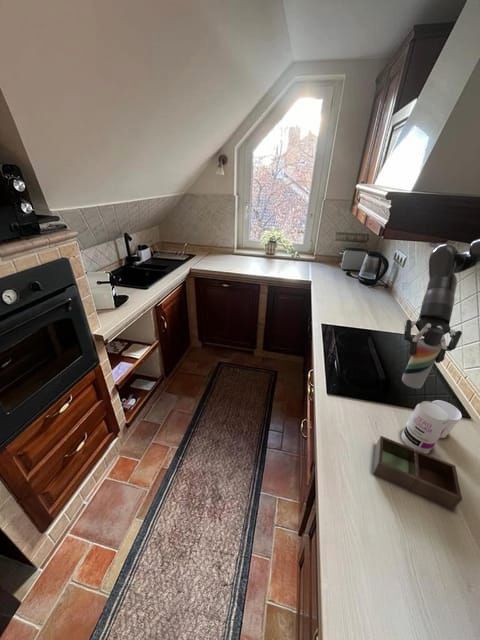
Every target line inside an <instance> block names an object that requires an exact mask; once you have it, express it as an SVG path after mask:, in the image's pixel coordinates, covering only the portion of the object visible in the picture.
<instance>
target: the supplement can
mask: <svg viewBox="0 0 480 640" xmlns="http://www.w3.org/2000/svg"><path fill="white" fill-rule="evenodd" d="M448 423H449V414H448V412H447V411H446V410H445V409H444V408H443V407H441V406H440V405H438V404H436V403H434V402H433V401H430V400H424V401H421V402H420V403H417V404H416V406H415V407H414V409H413V412H412V413H411V415H410V417H409V419H408V421H407V423H406V424H405V427H404V428H403V430H402V432H401V440H402V442H403V443H404V445H405V446H408V447H410V448H413V449H415V450H417V451H420V452H423V453H425V454H429V453H431V451H432V450H433V448H434V447H435V445H436V443H437V442H438V440H439V439H440V438H439V437H440V436H441V434H442V433H443V431H444V430H445V428H446V427H447V425H448Z"/></svg>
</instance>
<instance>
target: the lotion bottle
mask: <svg viewBox="0 0 480 640" xmlns="http://www.w3.org/2000/svg"><path fill="white" fill-rule="evenodd" d="M443 334H444V331H443V330H442V329H441V328H438V327H435V326H431V327H429V328H428V329H427V332H426V334H425V336H424V337H421V338H420V339H419V340H418V341H417V342H416V343H417V347H416V351H415V354H414V356H410V358H409V361H408V363H407V365H406V368H405V370H404V372H403V374H402V376H401V381H402V383H403V384H404V385H405V386H407V387H409V388H412V389H421V388H423V385H424V384H425V382H426V380H427V378H428V376H429V375H430V372H431V370H432V368H433V366H434V364H435V363H436V362H435V360H436V358H437V356H438V354H439V352H440V350H441V345H440V344H439V342H440V340H441V338H442V336H443Z"/></svg>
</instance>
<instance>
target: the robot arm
mask: <svg viewBox="0 0 480 640" xmlns="http://www.w3.org/2000/svg"><path fill="white" fill-rule="evenodd" d="M479 265H480V238H477V239H474V240H473V241H472V242H471V243H470V244H469V249H468V250H466V251H463V252H461V250H460V249H459V248H458V247H457V246H456V245H454V244H453V243H442V244H440V245H439V244H438V246H436V247H435V248H434V249H433V250H432V251H431V253H430V255H429V258H428V282H427V287H426V289H425V290H426V291H425V294H424V296H423V299H422V301H421V306H420V310H419V311H420V312H419V315H418V319H417V320H415V321H414V320H411V319H406V320H405V322H404V330H403V331H404V332H403V340H404V341H407V342H409V347H408V350H407V351H408V352H407V353H408V354H409V356H410V357H411V356H414V354H415V351H416V347H417V342H418V340H419V339H421V338H424V336H425V334H426V332H427V329H428V328H429V327H431V326H435V327H438V328H441V329H442V330H443V331H444V334H443V336H442V338H441V340H440V342H439V344H440V345H441V350H440V352H439V354H438V356H437V358H436V360H435V362H434V363H435V364H440V363H441V362H443V361H444V360H445V356H446V352H452V351H453V350H455V349H456V347H457V345H458V343H459V341H460V339H461V336H462V334H463V332H462V331H461V330H454V329H452V328H451V326H450V324H451V319H452V315H453V309H454V306H455V300H456V299H455V297H456V292H457V286H458V278H457V275H456V274H460V273H463V272H466V271H468V270H470V269H472V268H475V267H477V266H479ZM414 326H415V327H416V329H417V331H418V332H417V333H416V335H415V336H411V335H412V329H413V328H414ZM446 334H449V337H450V341H449V342H448V345H447V343H446V337H445V336H446Z"/></svg>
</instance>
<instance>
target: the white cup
mask: <svg viewBox="0 0 480 640" xmlns="http://www.w3.org/2000/svg"><path fill="white" fill-rule="evenodd" d="M432 402H434V403H436V404H438V405H440V406H441V407H443V408H444V409H445V410H446V411H447V412H448V414H449V423H448V425H447V427H446V428H445V430H444V431H443V433H442V434H441V436H440V437H439V439H445V438H446V437H447V436H448V435H449V433H451V432H452V430H454V428H455V427H456V426H457V424H458V423H459V422H460V420H461V419H462V418H463V416H462V413H461V411H460V409H458V408H457V407H456V406H454V405H453V404H452V403H449V402H448V401H444V400H439V399H436V400H432Z"/></svg>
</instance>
